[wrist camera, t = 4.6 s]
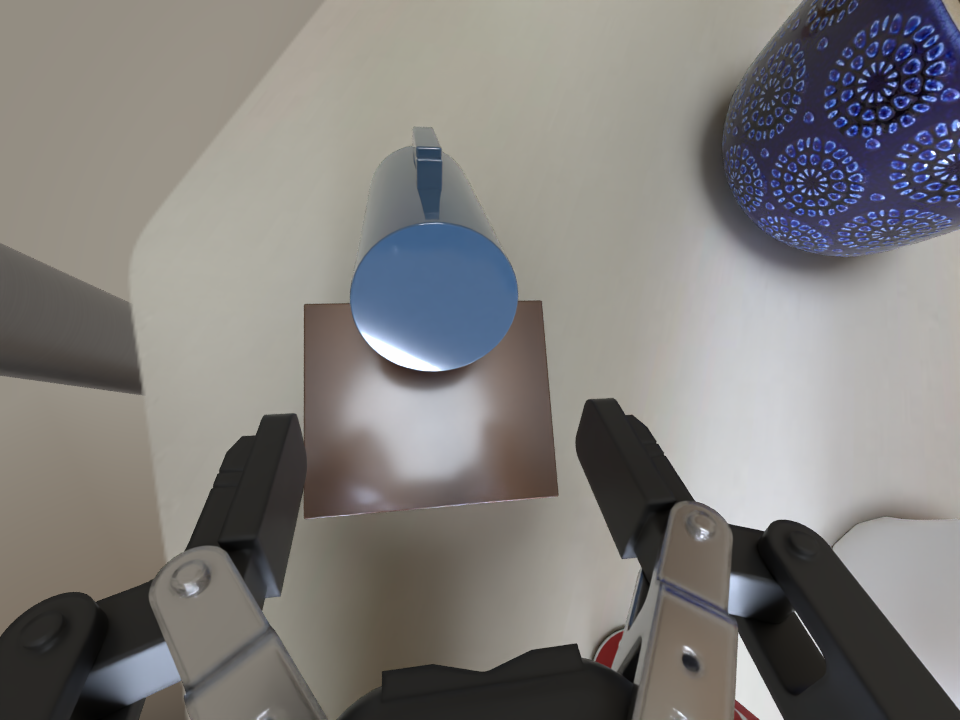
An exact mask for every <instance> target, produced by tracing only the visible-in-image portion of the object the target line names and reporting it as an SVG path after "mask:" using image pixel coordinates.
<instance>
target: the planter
mask: <svg viewBox="0 0 960 720" xmlns="http://www.w3.org/2000/svg"><path fill="white" fill-rule="evenodd" d="M722 157H723V164H724V170H725V174H726V178H727V181H728V184H729V186H730V189H731V191H732V193H733V195H734V197H735V199H736V201H737V202H738V204H739V205H740V207H741V208H742V210H743V211H744V212H745V213H746V215H747V216H748V217H749V218H750V219H751V220H752V221H753V222H754V223H755V224H756V225H757V226H758V227H759V228H760V229H762V230H763V231H764V232H766V233H767V234H769V235H770V236H772V237H773V238H775V239H777V240H779V241H781V242H782V243H784V244H786V245H789V246H791V247H794V248H796V249H799V250H803V251H807V252H811V253H815V254H820V255H828V256H840V257H855V256H863V255H869V254H876V253H881V252H886V251H890V250H893V249H897V248H900V247H904V246H908V245H911V244H915V243H918V242H921V241H925V240H928V239H931V238H934V237H938V236H941V235H944V234H947V233H950V232H953V231H956V230H959V229H960V0H803V1H802V3H801V4H800V5H799V6H798V7H797V8H796V9H795V11H794V12H793V13H792V14H791V15H790V16H789V17H788V19H787V20H786V21H785V22H784V24H783V25H782V26H781V27H780V28H779V30H778V31H777V32H776V33H775V35H774V36H773V37H772V38H771V40H770V41H769V42H768V43H767V45H766V46H765V47H764V49H763V50H762V51H761V53H760V54H759V55H758V57H757V58H756V59H755V61H754V62H753V63H752V65H751V66H750V67H749V68H748V70H747V71H746V73H745V75H744V76H743V78H742V80H741V82H740V83H739V85H738V87H737V89H736V90H735V92H734V94H733V96H732V99H731V102H730V105H729V108H728V112H727V115H726V119H725V123H724V129H723V139H722Z"/></svg>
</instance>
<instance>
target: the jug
mask: <svg viewBox="0 0 960 720" xmlns="http://www.w3.org/2000/svg"><path fill="white" fill-rule="evenodd" d="M412 131H413V135H412V140H413V146H409V147H405V148H402V149H399V150H397V151H395V152H393V153H392V154H390V155H389V156H387V157H386V158H385V159H384V160H383V161H382V162H381V164H380V165H379V166H378V168H377V169H376V171H375V173H374V175H373V178H372V181H371V185H370V189H369V195H368V200H367V205H366V210H365V215H364V221H363V226H362V231H361V236H360V241H359V246H358V252H357V257H356V262H355V267H354V272H353V277H352V283H351V289H350V307H351V312H352V317H353V319H354V322H355V325H356V327H357V329H358V331H359V333H360V334H361V336H362V337H363V338H364V340H365V341H366V342H367V343H368V345H369V346H370V347H371V348H372V349H373V350H374V351H376V352H377V353H378V354H379V355H381V356H382V357H384V358H385V359H387V360H389V361H391V362H393V363H395V364H397V365H399V366H402V367H405V368H409V369H413V370H418V371H429V372H437V371H447V370H452V369H456V368H460V367H463V366H466V365H468V364H470V363H473V362H475V361H477V360H478V359H480V358H482V357H483V356H485V355H486V354H487V353H489V352H490V351H491V350H492V349H493V348H495V347H496V346H497V345H498V344H499V342H500V341H501V340H502V339H503V338H504V336H505V335H506V333H507V332H508V330H509V328H510V326H511V324H512V322H513V319H514V317H515V314H516V310H517V305H518V285H517V280H516V276H515V273H514V271H513V268H512V266H511V264H510V262H509V260H508V258H507V256H506V254H505V252H504V250H503V248H502V246H501V244H500V242H499V240H498V238H497V236H496V234H495V232H494V230H493V228H492V226H491V224H490V222H489V220H488V218H487V216H486V214H485V213H484V211H483V209H482V207H481V205H480V203H479V201H478V199H477V197H476V195H475V193H474V191H473V189H472V187H471V185H470V183H469V181H468V179H467V177H466V175H465V173H464V172H463V170H462V169H461V167H460V166H459V165H458V163H457V162H456V161H455V160H454V159H453V158H451V157H450V156H449V155H447V154H446V153H444V152H442V149H441V146H440V144H439V141H438V139H437V136H436V134H435V132H434V129H433V128H432V127H413V129H412Z"/></svg>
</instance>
